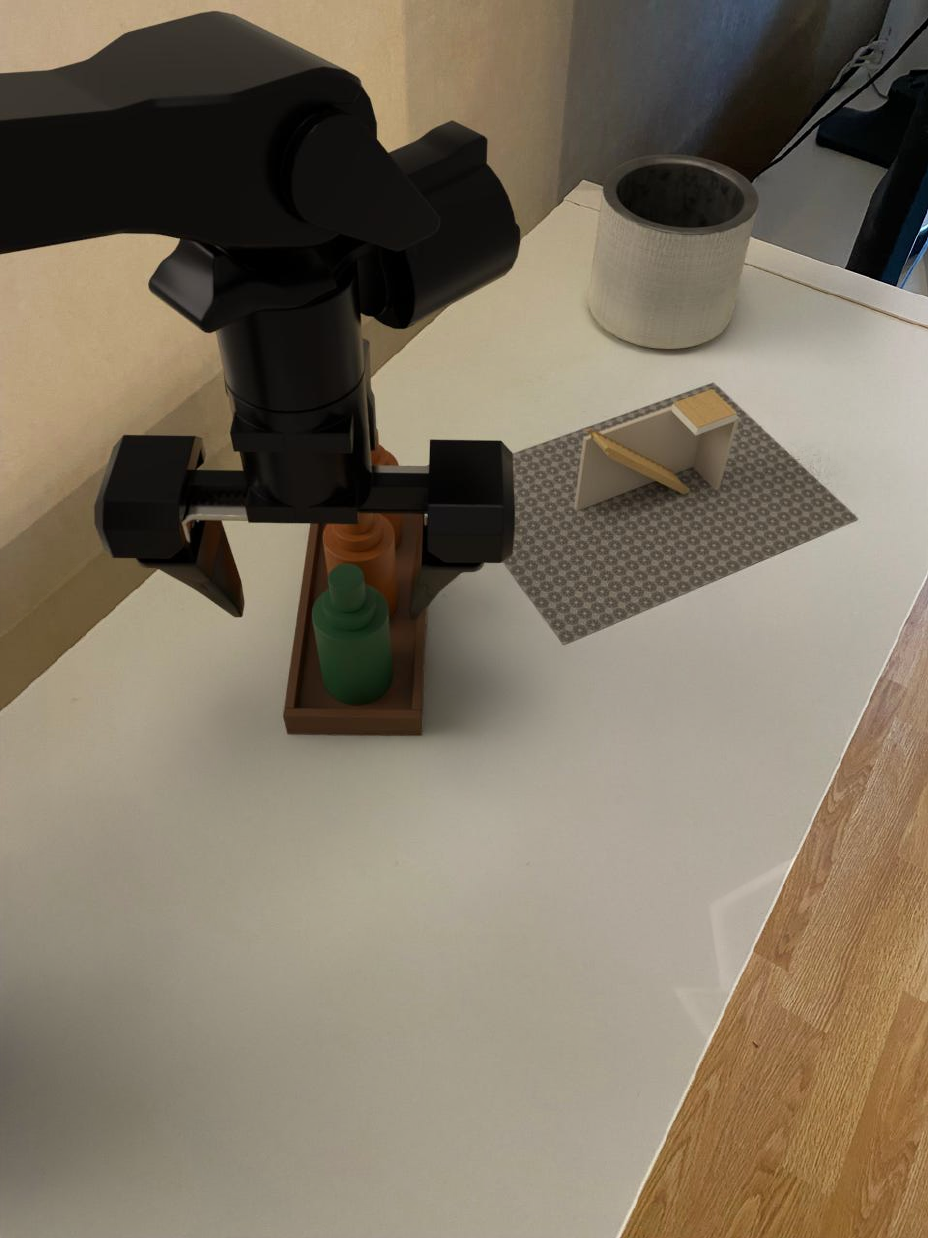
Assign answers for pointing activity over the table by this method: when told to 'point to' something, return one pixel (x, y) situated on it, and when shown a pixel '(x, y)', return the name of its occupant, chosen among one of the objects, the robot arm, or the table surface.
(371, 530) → the amber bottle middle
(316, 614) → the green bottle
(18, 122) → the robot arm
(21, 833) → the table surface
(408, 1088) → the table surface
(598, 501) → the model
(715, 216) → the planter
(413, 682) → the tray
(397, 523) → the amber bottle far
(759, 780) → the table surface
